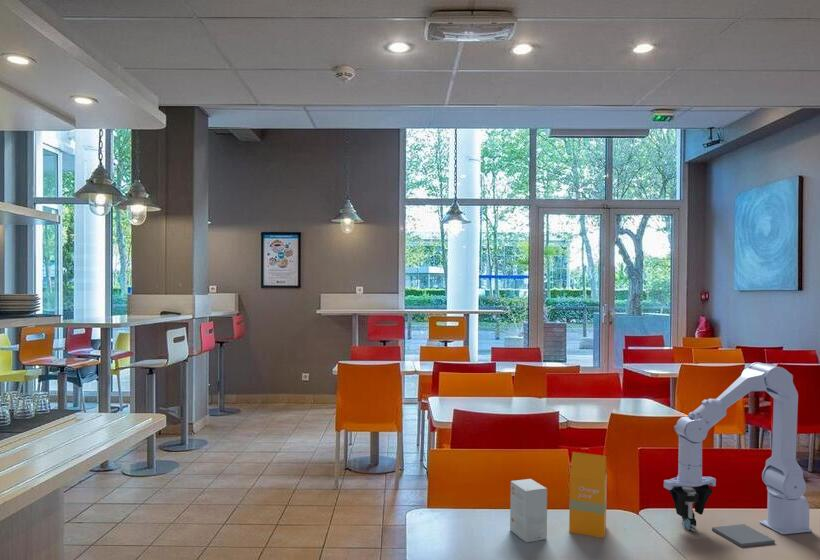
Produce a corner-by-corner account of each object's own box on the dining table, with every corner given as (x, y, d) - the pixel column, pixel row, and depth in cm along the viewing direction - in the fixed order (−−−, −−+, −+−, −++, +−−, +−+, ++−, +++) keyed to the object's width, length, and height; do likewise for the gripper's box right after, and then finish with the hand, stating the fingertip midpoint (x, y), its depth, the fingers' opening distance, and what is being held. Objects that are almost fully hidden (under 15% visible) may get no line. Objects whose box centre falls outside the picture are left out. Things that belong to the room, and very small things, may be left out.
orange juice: (604, 538, 153) (605, 459, 153) (568, 532, 156) (569, 455, 156) (606, 526, 160) (607, 451, 160) (572, 520, 163) (573, 447, 163)
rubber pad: (744, 527, 160) (744, 524, 160) (774, 543, 150) (774, 540, 150) (712, 530, 158) (712, 527, 158) (741, 547, 148) (741, 543, 148)
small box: (547, 539, 151) (548, 488, 151) (525, 543, 149) (526, 491, 149) (530, 526, 159) (530, 478, 159) (509, 530, 157) (509, 480, 157)
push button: (704, 533, 156) (704, 495, 156) (683, 532, 156) (683, 494, 156) (695, 522, 162) (694, 486, 162) (674, 522, 163) (674, 485, 163)
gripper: (702, 456, 165) (702, 506, 165) (656, 460, 161) (656, 510, 161) (721, 464, 158) (721, 516, 158) (673, 468, 155) (673, 520, 155)
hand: (689, 513), depth 159 cm, fingers closed on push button, 5 cm apart
